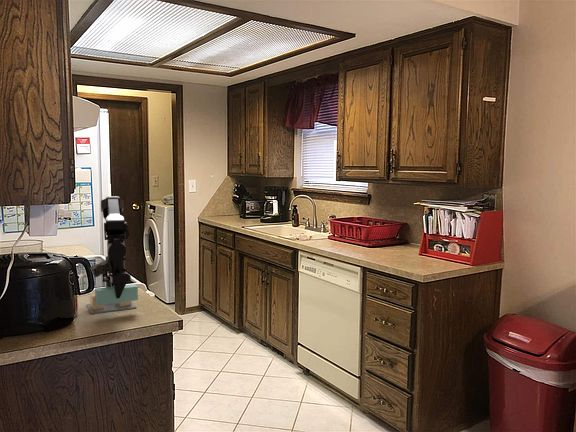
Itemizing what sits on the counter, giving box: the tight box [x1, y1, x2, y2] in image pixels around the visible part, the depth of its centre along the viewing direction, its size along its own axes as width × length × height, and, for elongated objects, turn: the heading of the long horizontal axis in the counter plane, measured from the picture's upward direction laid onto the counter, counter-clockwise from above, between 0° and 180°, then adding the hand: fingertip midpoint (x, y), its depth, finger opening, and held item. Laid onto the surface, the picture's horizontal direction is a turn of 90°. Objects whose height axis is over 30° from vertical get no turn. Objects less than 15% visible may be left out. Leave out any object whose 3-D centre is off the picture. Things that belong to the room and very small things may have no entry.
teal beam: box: [94, 283, 139, 305], centre depth 175 cm, size 4×14×5 cm, turn 120°
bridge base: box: [86, 292, 137, 315], centre depth 185 cm, size 12×16×6 cm
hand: (116, 296), depth 176 cm, fingers closed on teal beam, 4 cm apart
